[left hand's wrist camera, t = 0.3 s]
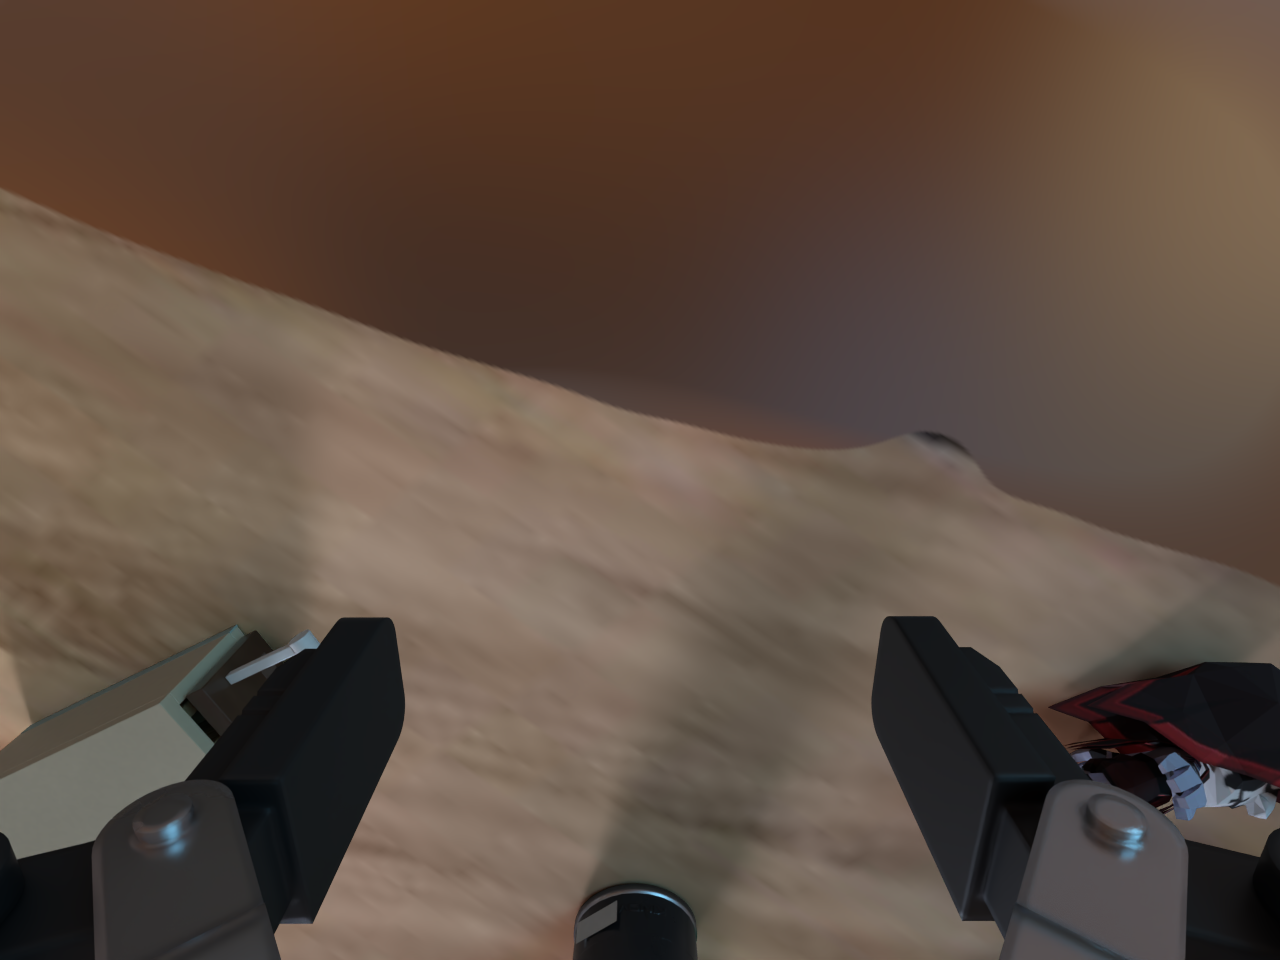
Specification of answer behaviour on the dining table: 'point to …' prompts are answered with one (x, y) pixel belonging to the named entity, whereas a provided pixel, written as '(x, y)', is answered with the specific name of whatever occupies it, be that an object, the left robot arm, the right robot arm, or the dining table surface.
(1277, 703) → the toy
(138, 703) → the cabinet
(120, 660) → the dining table surface
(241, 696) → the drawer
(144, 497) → the dining table surface
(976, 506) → the dining table surface
